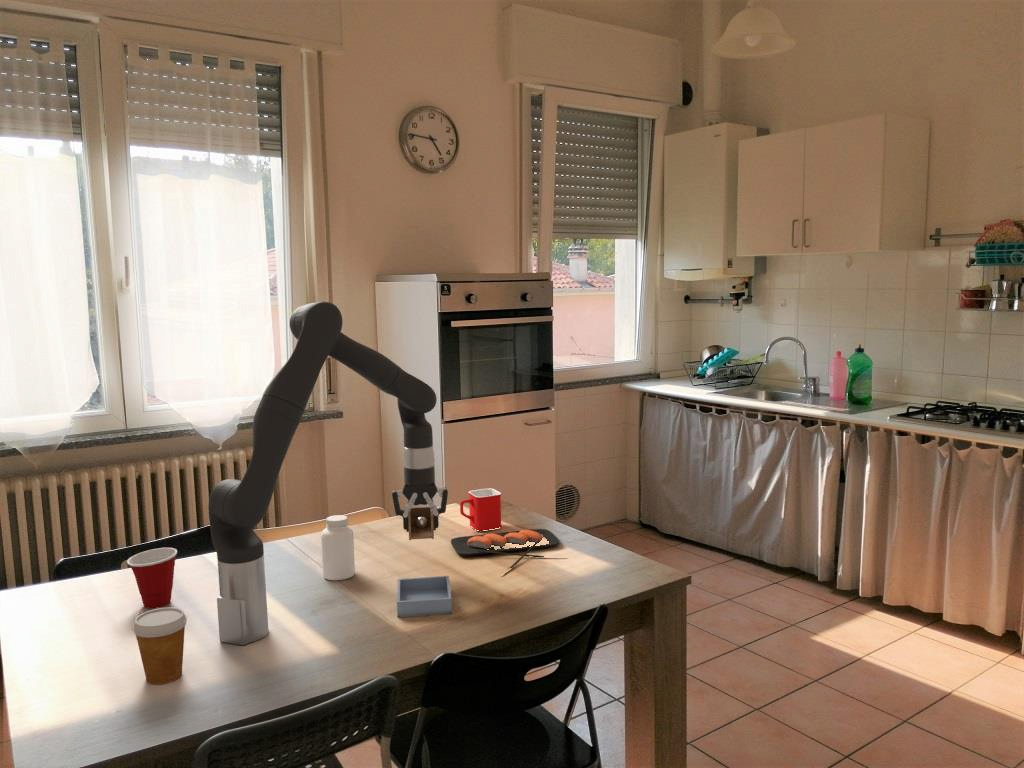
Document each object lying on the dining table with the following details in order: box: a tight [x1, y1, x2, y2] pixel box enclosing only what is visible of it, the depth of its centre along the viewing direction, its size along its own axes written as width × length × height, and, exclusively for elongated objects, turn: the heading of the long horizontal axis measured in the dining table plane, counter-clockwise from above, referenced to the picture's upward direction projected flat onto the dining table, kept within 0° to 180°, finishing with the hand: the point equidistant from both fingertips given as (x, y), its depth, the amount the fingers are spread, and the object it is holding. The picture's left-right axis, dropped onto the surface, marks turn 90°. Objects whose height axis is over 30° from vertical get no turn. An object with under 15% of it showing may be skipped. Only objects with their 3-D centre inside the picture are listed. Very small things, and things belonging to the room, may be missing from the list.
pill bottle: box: [320, 514, 356, 581], centre depth 206 cm, size 8×8×15 cm
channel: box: [408, 506, 435, 541], centre depth 203 cm, size 9×6×6 cm, turn 7°
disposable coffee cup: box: [131, 606, 188, 685], centre depth 155 cm, size 10×10×12 cm
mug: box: [459, 487, 502, 531], centre depth 242 cm, size 12×8×11 cm
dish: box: [396, 575, 453, 618], centre depth 188 cm, size 14×12×4 cm
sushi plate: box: [450, 528, 561, 568], centre depth 219 cm, size 29×30×4 cm
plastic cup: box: [126, 547, 178, 610], centre depth 190 cm, size 11×11×12 cm
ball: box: [416, 516, 428, 528], centre depth 206 cm, size 3×3×3 cm
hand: (421, 530), depth 203 cm, fingers closed on channel, 6 cm apart
